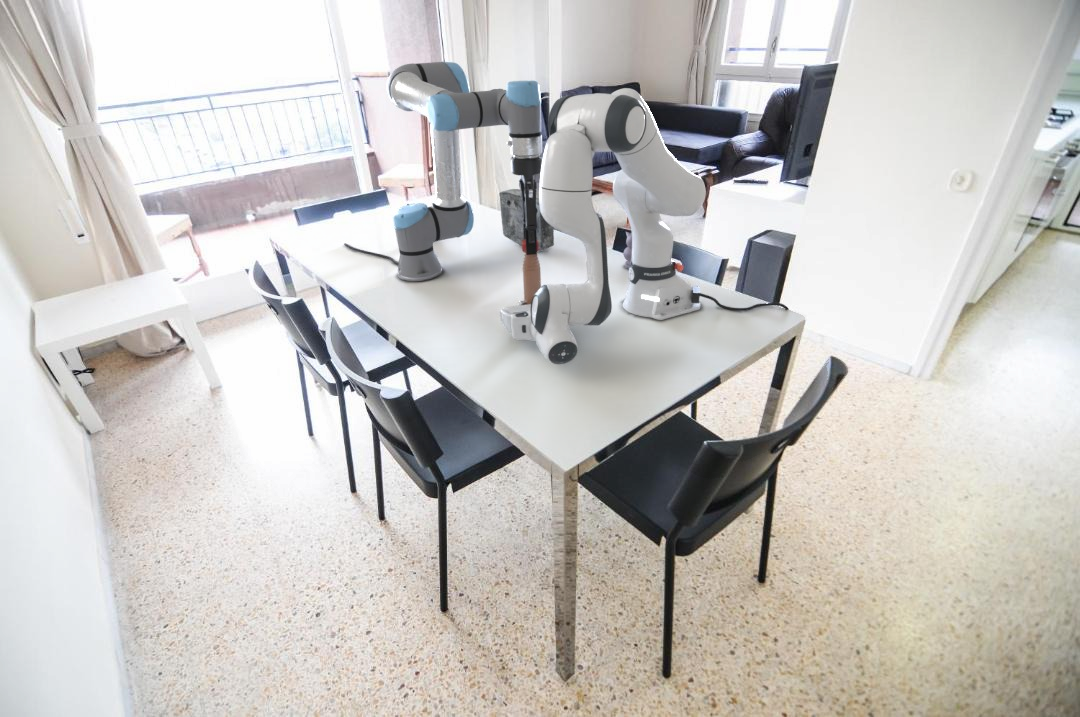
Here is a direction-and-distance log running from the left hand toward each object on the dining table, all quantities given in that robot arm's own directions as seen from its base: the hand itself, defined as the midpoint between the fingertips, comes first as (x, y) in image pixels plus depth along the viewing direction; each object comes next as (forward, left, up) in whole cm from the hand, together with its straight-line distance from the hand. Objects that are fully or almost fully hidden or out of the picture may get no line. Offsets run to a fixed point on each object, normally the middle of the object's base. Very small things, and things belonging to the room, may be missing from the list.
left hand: (530, 250), depth 129 cm
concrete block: (-26, +61, -21) cm, 69 cm away
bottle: (0, 0, -21) cm, 21 cm away
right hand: (-1, +1, -15) cm, 15 cm away
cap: (0, 0, 0) cm, 0 cm away
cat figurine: (+18, +51, -21) cm, 58 cm away
